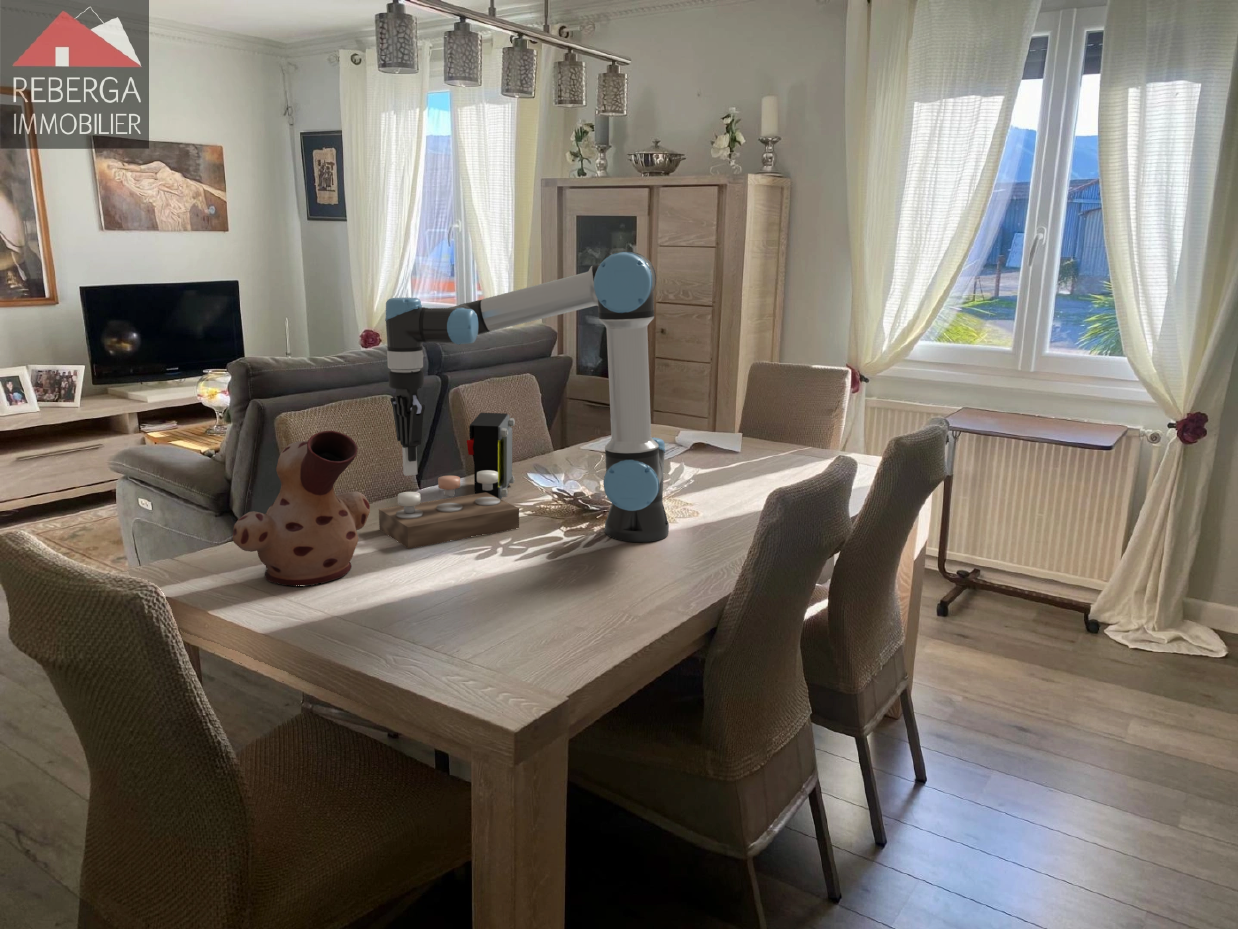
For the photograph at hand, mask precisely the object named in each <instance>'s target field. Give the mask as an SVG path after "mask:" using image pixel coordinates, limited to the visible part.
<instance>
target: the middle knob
mask: <svg viewBox="0 0 1238 929" xmlns="http://www.w3.org/2000/svg"><path fill="white" fill-rule="evenodd" d="M437 481H438V482H437V483H438V485H437V486H438V488H439V489H441V490H443V495H444V497H455V491H456V489H459V488H461V477H460V476H457V475H443V476H442V475H441V476H440V477H438V478H437Z"/></svg>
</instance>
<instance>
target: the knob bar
mask: <svg viewBox="0 0 1238 929" xmlns="http://www.w3.org/2000/svg"><path fill="white" fill-rule="evenodd" d="M378 526H379V527H378V529H380V530H379V531H381V532H382V533H383V534H386V535H387V536H388V535H389V537H390V538H391V539H393V540H394V541H396V542H397V541H398V542H397V543H399V544H400V545H401V546H404V547H405V548H406V549H408V550H409V549H417V548H420V547H421V546H422V547H426V546H433V545H437V543H438V544H442V542H443V543H447V541H449V542H451V541H450V540H454V541H459V539H460V540H463V538H465V539H468V538H467V537H470V538H472V537H471V536H476V535H481V536H483V535H482V534H487V535H491V533H492V534H496V532H497V533H502V531H503V532H507V530H508V531H512V530H511V529H514V530H517V529H516V528H519V529H520V507H518V506H515V505H513V504H512V503H510V502H507V501H505V500H503V499H499V498H497V497H495V496H493V495H491V494H489V493H486V492H485V493H479V494H468V495H459V496H452V497H448V498H447V497H446V498H440V499H435V500H429V501H423V502H421V503H420V504H419V505H416V506H415V512H414V513H404V506H400V505H397V506H396V505H395V506H389V507H384V508H378ZM476 537H477V536H476ZM422 547H421V548H422Z"/></svg>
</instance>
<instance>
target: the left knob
mask: <svg viewBox="0 0 1238 929" xmlns="http://www.w3.org/2000/svg"><path fill="white" fill-rule="evenodd" d="M420 503H421V493H419V492H417V491H405V492H400V493H398V494H397V506H404V513H414V512H415V506H416V505H419V504H420Z"/></svg>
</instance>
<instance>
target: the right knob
mask: <svg viewBox="0 0 1238 929" xmlns="http://www.w3.org/2000/svg"><path fill="white" fill-rule="evenodd" d="M477 482H478V483H482V489H483V490H487V491H488V490H492V489H493V483H496V482H498V472H496V471H491V470H484V471H479V472H477Z"/></svg>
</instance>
